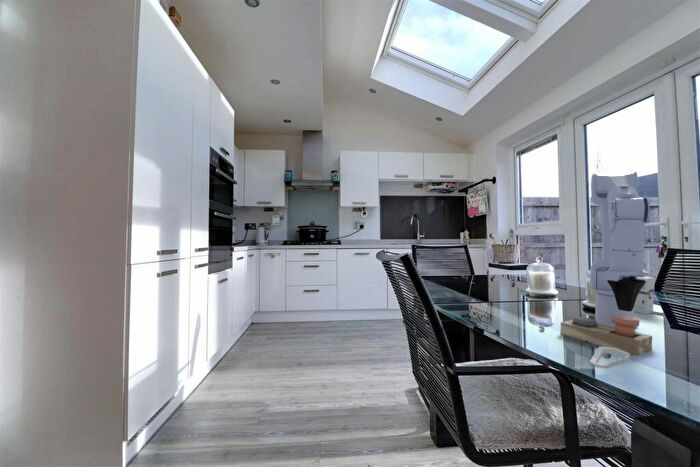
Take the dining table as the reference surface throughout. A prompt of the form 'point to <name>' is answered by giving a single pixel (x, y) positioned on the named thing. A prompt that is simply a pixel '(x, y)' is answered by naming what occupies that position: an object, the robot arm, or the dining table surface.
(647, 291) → the ink box
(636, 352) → the socket block
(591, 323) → the grey plug
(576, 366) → the dining table surface
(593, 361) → the stepped key frame
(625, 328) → the brick plug
